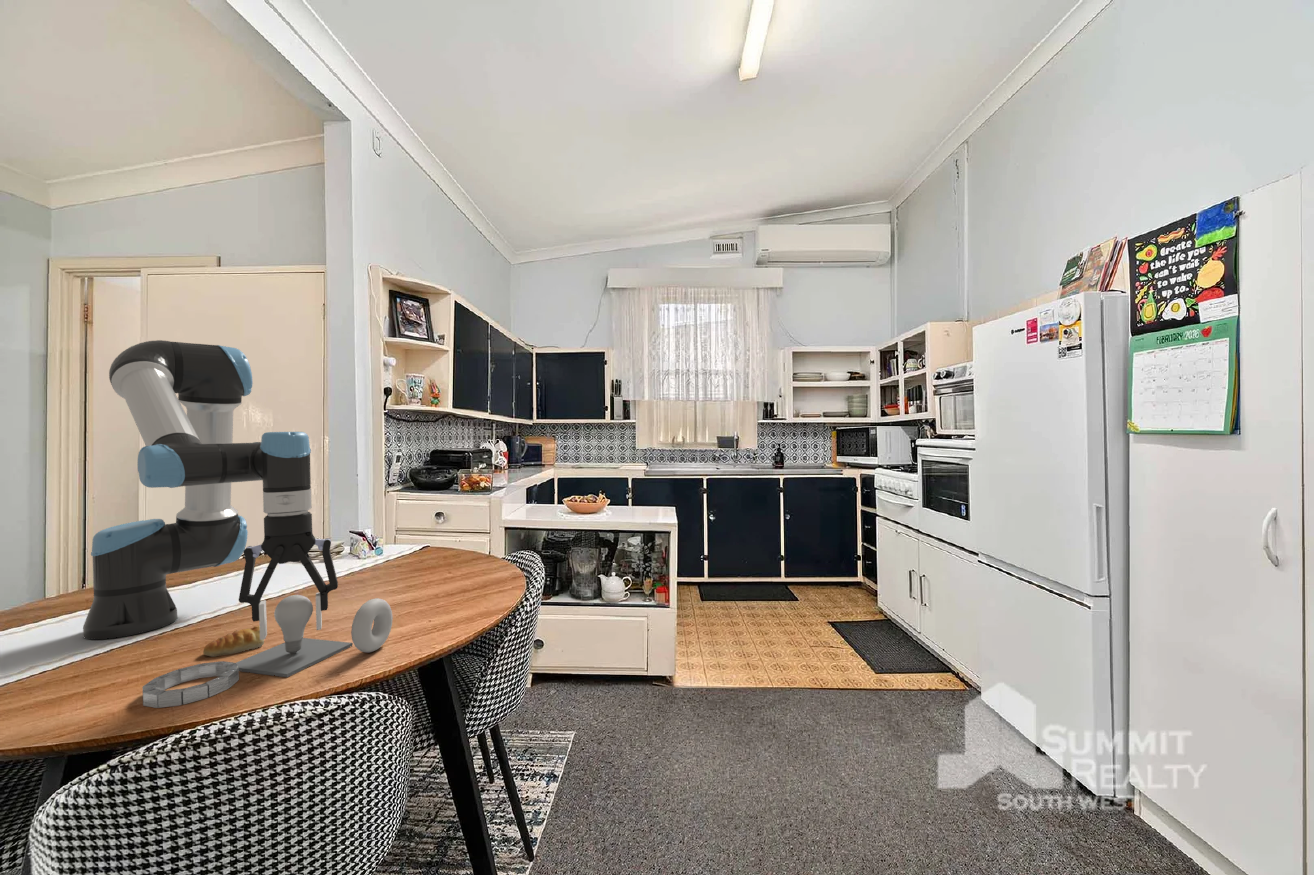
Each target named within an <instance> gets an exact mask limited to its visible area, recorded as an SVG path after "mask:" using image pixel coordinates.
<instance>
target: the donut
mask: <svg viewBox="0 0 1314 875" xmlns="http://www.w3.org/2000/svg"><path fill="white" fill-rule="evenodd" d="M392 627H393V611H392V608H391V605H390V604H389V603H388V601H387V600H385V599H382V598H378V597H376V598H372V599H368V600H366V602H364V603H363V604H362V605H361V606H360V607H359V609H357V612H356V613H355V615H354V617H353V621H352V624H351V632H350V634H351V640H352V643H353V646H354V647H355V648H356V649H357V650H359V651H360V652H362V653H367V654H368V653H372V652H374V651H375V652H376V651H378V650H379V649H380V648H381V647H382V646H383V645H384V644H385V642H387V640H388V638H389V636H390V633H391V630H392Z"/></svg>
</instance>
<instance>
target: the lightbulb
mask: <svg viewBox="0 0 1314 875" xmlns="http://www.w3.org/2000/svg"><path fill="white" fill-rule="evenodd" d="M313 612H314V605H313V602H312V600H310V599H309V598H308V596H306V595H305V596H304V595H301V594H293V595H289V596H286V597H285V598H283V599H281V600H280V601H279V602H278V603H277V605H276V606H275V609H274V612H273V614H274V615H273V616H274V619H275V622H276V623H277V625H278V627H279V628H280V629H281V631H282V636H283V642H284V643H285V650H286V652H289V653H290V654H294V653H296V652H297V651H299V650H300V649H301V646H302V638H304V633H305V628H306V626H307V624H308V623H309V621H310V619H311V617H312V615H313Z"/></svg>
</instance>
